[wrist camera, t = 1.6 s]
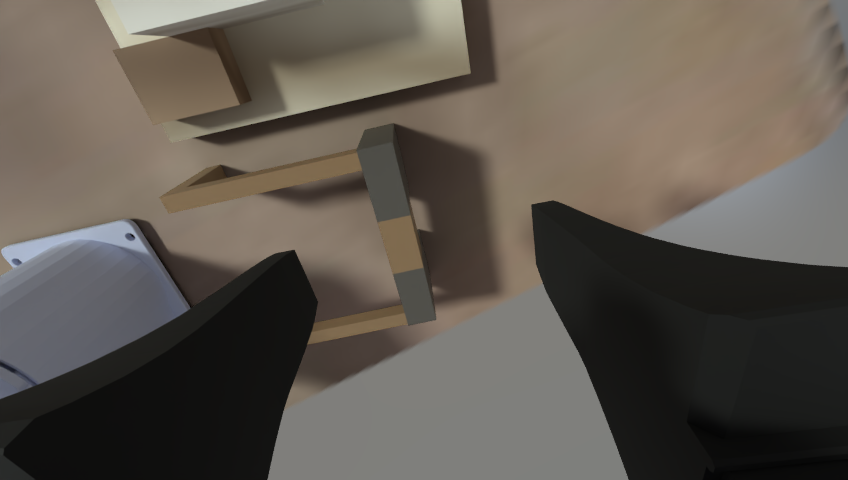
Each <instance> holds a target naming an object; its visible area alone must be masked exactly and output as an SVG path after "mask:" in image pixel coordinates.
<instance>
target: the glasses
mask: <svg viewBox="0 0 848 480" xmlns="http://www.w3.org/2000/svg"><path fill="white" fill-rule="evenodd" d="M361 170H362V171H363V175H364V178H365V181H366V185H367V188H368V192H369V195H370V198H371V202H372V205H373V208H374V212H375V215H376V219H377V222H378V225H379V229H380V232H381V235H382V239H383V242H384V245H385V249H386V252H387V256H388V259H389V262H390V266H391V269H392V272H393V276H394V279H395V282H396V286H397V289H398V293H399V296H400V299H401V303H402V305H398V306H393V307H388V308H383V309H378V310H373V311H369V312H364V313H359V314H354V315H349V316H344V317H340V318H335V319H330V320H325V321H320V322H315V323H314V325H313V329H312V332H311V335H310V338H309V341H308V344H307V345H309V344H314V343H318V342H323V341H328V340H333V339H338V338H343V337H348V336H353V335H358V334H362V333H367V332H372V331H377V330H382V329H387V328H392V327H397V326H401V325H406V324H408V325H413V324H418V323H423V322H428V321H433V320H436V313H435V306H434V299H433V292H432V285H431V278H430V273H429V269H428V264H427V260H426V256H425V252H424V248H423V244H422V239H421V235H420V231H419V229H418V230H417V228H416V223H415V219H414V215H413V211H412V207H411V203H410V199H409V188H408V181H407V177H406V173H405V169H404V164H403V160H402V156H401V152H400V148H399V144H398V139H397V135H396V131H395V127H394V123H393V124H389V125H384V126H380V127H376V128H371V129H367V130H365V131H364V133H363V135H362V138H361V140H360V143H359V145H358V148H357V149H353V150H349V151H344V152H340V153H336V154H331V155H327V156H322V157H318V158H313V159H309V160H305V161H300V162H296V163H291V164H287V165H283V166H278V167H274V168H269V169H265V170H260V171H256V172H252V173H247V174H243V175H238V176H234V177H229V178H227V177H226V175H225V173H224V171H223V169H222V167H221V165H218V166H213V167H209V168H206V169H204V170H203V171H201V172H199V173H198V174H196V175H195V176H193V177H191V178H190V179H188V180H186V181H185V182H183V183H182V184H180V185H178V186H177V187H175V188H174V189H172V190H170V191H169V192H167V193H166V194H164V195H162V196H161V197H159V198H160V199H161V201H162V203H163V204H164V206H165V208H166V209H167V211H168V213H174V212H178V211H183V210H187V209H191V208H196V207H200V206H205V205H209V204H214V203H218V202H223V201H227V200H232V199H236V198H241V197H245V196H250V195H254V194H259V193H263V192H267V191H272V190H276V189H281V188H285V187H290V186H294V185H299V184H303V183H308V182H312V181H317V180H321V179H326V178H330V177H335V176H339V175H344V174H348V173H352V172H357V171H361Z"/></svg>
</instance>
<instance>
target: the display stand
mask: <svg viewBox="0 0 848 480" xmlns="http://www.w3.org/2000/svg"><path fill="white" fill-rule="evenodd" d="M95 1H96V3H97V5H98V7H99V9H100V10H101V12H102V14H103V16H104V18H105V20H106V22H107V24H108V25H109V27H110V29H111V31H112V33H113V35H114V37H115V39H116V40H117V42H118V44H119V46H120V49H116V50H113V52H114V54H115V56H116V57H117V59H118V61H119V63H120V65H121V67H122V68H123V70H124V72H125V74H126V76H127V78H128V79H129V81H130V83H131V85H132V87H133V89H134V91H135V92H136V94H137V96H138V98H139V100H140V102H141V103H142V105H143V107H144V109H145V111H146V113H147V114H148V116H149V118H150V120H151V122H152V124H153V125H156V124H160V123H161V125H162V127H163V129H164V131H165V132H166V134H167V136H168V138H169V140H170V142H171V143H172V142H176V141H181V140H185V139H189V138H194V137H198V136H202V135H207V134H211V133H215V132H220V131H224V130H228V129H233V128H237V127H241V126H246V125H250V124H254V123H258V122H263V121H267V120H271V119H276V118H280V117H284V116H289V115H293V114H297V113H302V112H306V111H310V110H315V109H319V108H323V107H327V106H332V105H336V104H340V103H345V102H349V101H353V100H358V99H362V98H366V97H371V96H375V95H379V94H384V93H388V92H392V91H396V90H401V89H405V88H409V87H414V86H418V85H422V84H427V83H431V82H435V81H440V80H444V79H448V78H453V77H457V76H461V75H466V74H470V73H471V71H470V64H469V56H468V49H467V42H466V34H465V27H464V19H463V12H462V4H461V0H95Z"/></svg>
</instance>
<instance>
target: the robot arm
mask: <svg viewBox="0 0 848 480" xmlns="http://www.w3.org/2000/svg"><path fill="white" fill-rule="evenodd" d="M531 207H532V219H533V231H534V244H535V256H536V265H537V268H538V271H539V273H540V276H541V279H542V282H543V284H544V287H545V290H546V292H547V294H548V296H549V298H550V299H551V302H552V304H553V305H554V307H555V309H556V311H557V313H558V315H559V316H560V319H561V320H562V322H563V324H564V326H565V328H566V330H567V332H568V333H569V335H570V337H571V339H572V341H573V343H574V345H575V346H576V348H577V350H578V352H579V354H580V356H581V358H582V361H583V363H584V365H585V367H586V369H587V372H588V374H589V377H590V379H591V382H592V384H593V387H594V389H595V391H596V394H597V396H598V399H599V401H600V404H601V406H602V409H603V412H604V414H605V417H606V420H607V422H608V424H609V427H610V430H611V433H612V435H613V438H614V440H615V443H616V446H617V449H618V451H619V454H620V457H621V459H622V462H623V465H624V468H625V470H626V473H627V476H628V479H629V480H848V267H835V266H834V267H833V266H819V265H818V266H817V265H807V264H797V263H788V262H779V261H770V260H761V259H754V258H747V257H741V256H734V255H728V254H723V253H717V252H712V251H705V250H701V249H696V248H691V247H686V246H681V245H678V244H674V243H670V242H666V241H662V240H659V239H654V238H651V237H648V236H644V235H641V234H638V233H635V232H632V231H629V230H626V229H624V228H621V227H618V226H615V225H613V224H610V223H607V222H605V221H602V220H600V219H597V218H595V217H593V216H590V215H588V214H585V213H583V212H581V211H579V210H576V209H574V208H572V207H569V206H567V205H565V204H562V203H560V202H557V201H548V202H542V203H537V204H532V205H531ZM130 233H131V234H133V235H134V236H135V238H134V237H132V236H131V235H130ZM1 252H2V255H3V257H4V258H5V259H6V260H7V261H8V262H9V263H10V265H11V266H12V267H13V269H12V270H10V271H8V272H6V273H5V274H3V275H1V276H0V480H267V479H268V474H269V470H270V465H271V461H272V456H273V451H274V447H275V442H276V438H277V434H278V430H279V426H280V422H281V419H282V414H283V411H284V407H285V404H286V401H287V398H288V395H289V392H290V390H291V387H292V384H293V381H294V379H295V376H296V373H297V371H298V368H299V365H300V363H301V360H302V357H303V355H304V352H305V349H306V346H307V344H308V341H309V338H310V335H311V332H312V329H313V325H314V320H315V316H316V310H317V304H318V301H317V299H316V296H315V294H314V292H313V290H312V287H311V285H310V283H309V281H308V279H307V276H306V274H305V272H304V270H303V268H302V265H301V263H300V261H299V259H298V257H297V254H296V252H295V250H291V251H286V252H280V253H276V254H274V255H272V256H270V257H268V258H266V259H264V260H263V261H261V262H259V263H258V264H256V265H255V266H253V267H252V268H250V269H249V270H247V271H246V272H244V273H243V274H241V275H240V276H239V277H237V278H236V279H234V280H233V281H231V282H230V283H228V284H227V285H226V286H224V287H223V288H221V289H220V290H218V291H217V292H215V293H214V294H212V295H211V296H209V297H208V298H206V299H205V300H203V301H201V302H200V303H198V304H197V305H195V306H194V307H192V308H190V306H189V305H188V303H187V302H186V300H185V298H184V297H183V295H182V294H181V292H180V291H179V289H178V288H177V286H176V285H175V283H174V281H173V280H172V278H171V277H170V275H169V274H168V272H167V271H166V269H165V267H164V266H163V264H162V263H161V261H160V260H159V258H158V257H157V255H156V253H155V252H154V250H153V249H152V247H151V246H150V244H149V243H148V241H147V240H146V238H145V236H144V235H143V233H142V232H141V230H140V229H139V227H138V226H137V224H136V223H135V222H133V221H132V220H129V219H123V220H118V221H114V222H109V223H105V224H100V225H96V226H91V227H87V228H82V229H78V230H74V231H69V232H65V233H60V234H56V235H51V236H47V237H42V238H38V239H33V240H29V241H24V242H20V243H16V244H11V245H9V246H6V247H4V248H3V249H2V250H1Z"/></svg>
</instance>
